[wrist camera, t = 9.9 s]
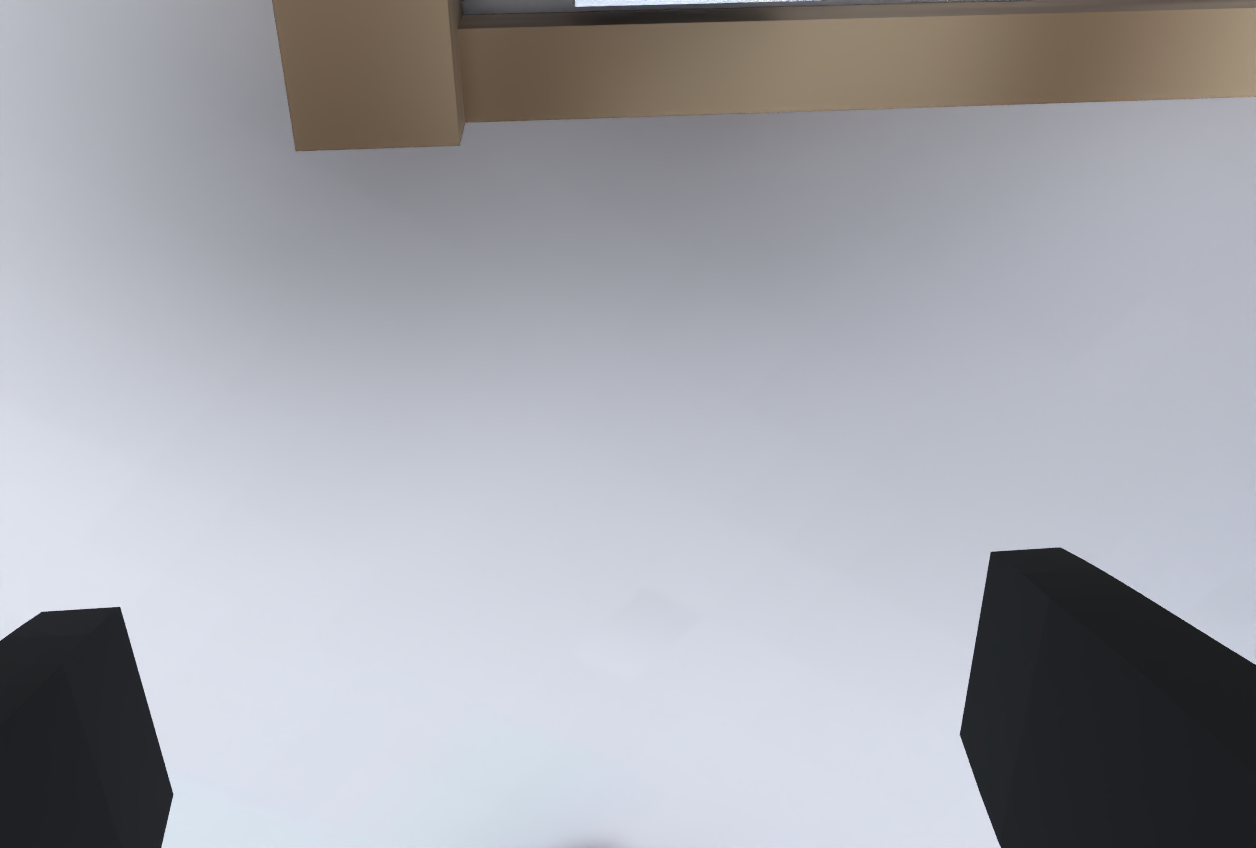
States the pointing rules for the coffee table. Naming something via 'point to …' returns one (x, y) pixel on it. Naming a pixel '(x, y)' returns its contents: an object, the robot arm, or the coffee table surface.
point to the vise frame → (736, 61)
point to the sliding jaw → (662, 2)
